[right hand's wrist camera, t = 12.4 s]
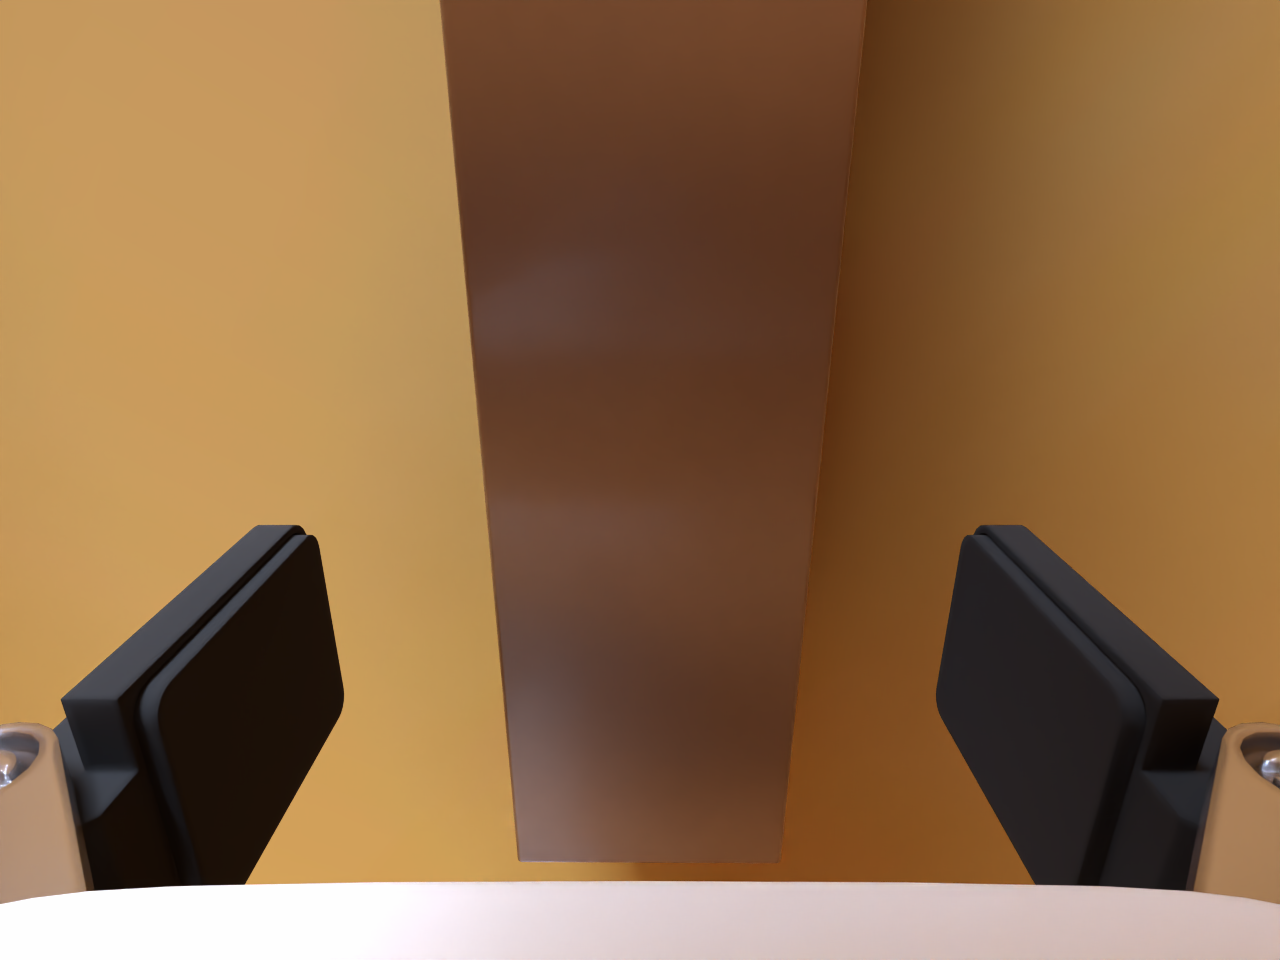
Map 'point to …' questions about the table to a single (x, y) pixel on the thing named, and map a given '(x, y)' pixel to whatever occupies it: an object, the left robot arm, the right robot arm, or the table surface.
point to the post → (651, 396)
